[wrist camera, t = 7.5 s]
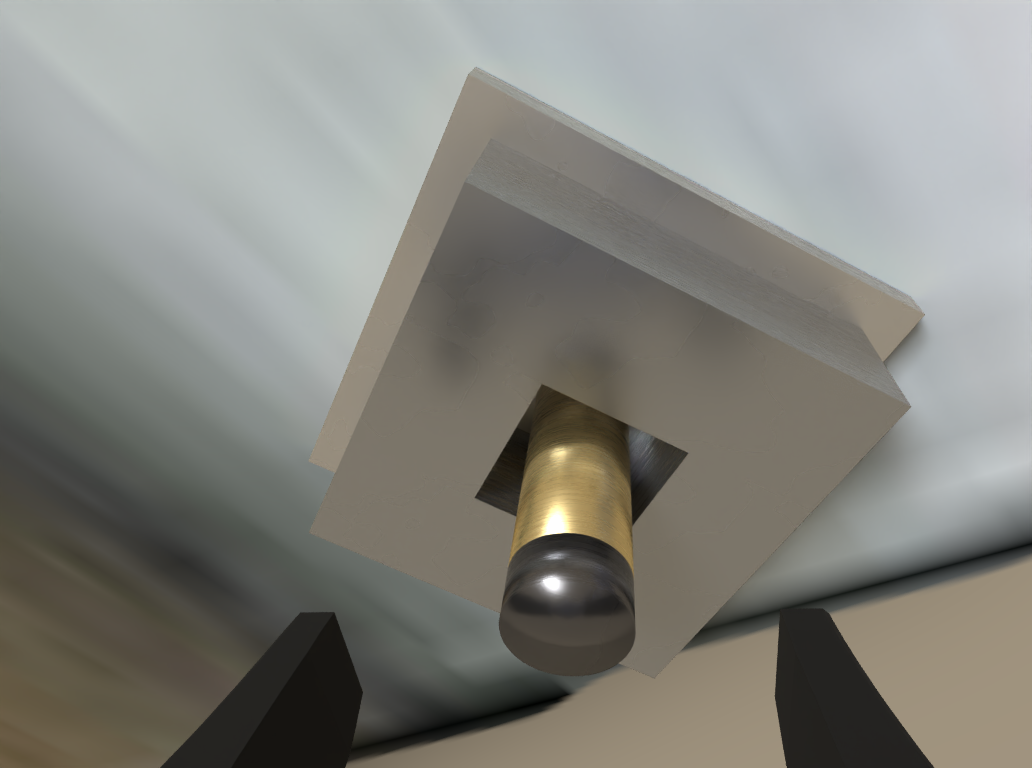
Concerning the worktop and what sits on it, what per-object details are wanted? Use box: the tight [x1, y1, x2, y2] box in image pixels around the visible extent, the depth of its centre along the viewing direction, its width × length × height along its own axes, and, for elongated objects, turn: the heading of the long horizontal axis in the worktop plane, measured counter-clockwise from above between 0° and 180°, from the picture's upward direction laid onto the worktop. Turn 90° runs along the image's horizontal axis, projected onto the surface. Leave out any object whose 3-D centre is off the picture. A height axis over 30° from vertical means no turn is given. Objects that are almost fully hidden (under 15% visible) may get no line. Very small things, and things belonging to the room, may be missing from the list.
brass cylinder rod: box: [499, 384, 636, 676], centre depth 17 cm, size 2×2×8 cm
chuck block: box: [309, 67, 925, 678], centre depth 19 cm, size 12×12×4 cm
